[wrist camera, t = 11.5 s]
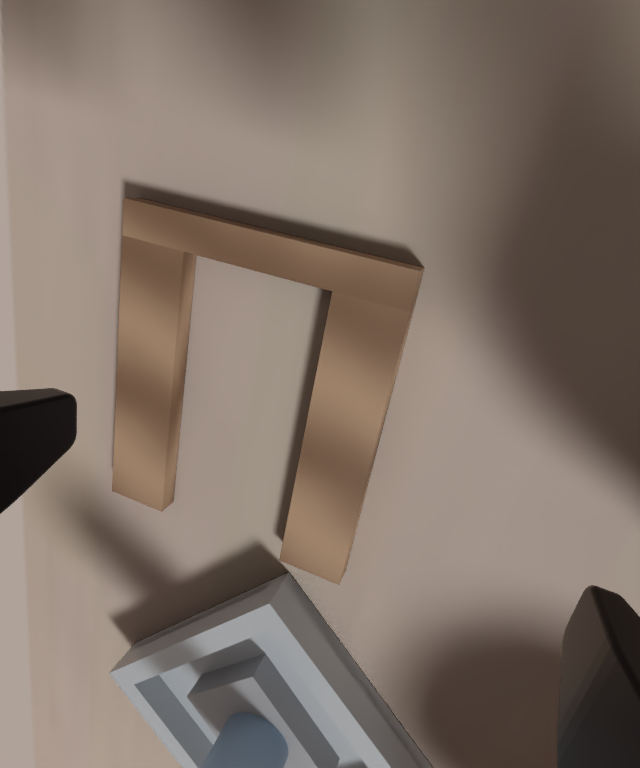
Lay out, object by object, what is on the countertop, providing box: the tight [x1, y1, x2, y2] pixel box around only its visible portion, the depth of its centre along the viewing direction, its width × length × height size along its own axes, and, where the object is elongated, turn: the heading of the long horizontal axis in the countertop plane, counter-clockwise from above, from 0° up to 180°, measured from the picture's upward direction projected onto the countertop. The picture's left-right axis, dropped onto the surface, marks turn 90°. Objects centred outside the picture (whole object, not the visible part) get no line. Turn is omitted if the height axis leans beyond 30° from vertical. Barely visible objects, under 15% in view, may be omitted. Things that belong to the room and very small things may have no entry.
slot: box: [112, 198, 424, 585], centre depth 24 cm, size 14×12×1 cm
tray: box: [109, 572, 433, 768], centre depth 29 cm, size 13×13×2 cm
